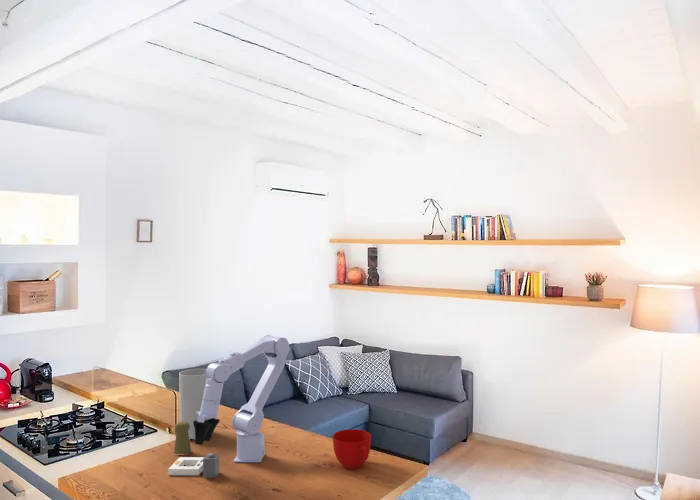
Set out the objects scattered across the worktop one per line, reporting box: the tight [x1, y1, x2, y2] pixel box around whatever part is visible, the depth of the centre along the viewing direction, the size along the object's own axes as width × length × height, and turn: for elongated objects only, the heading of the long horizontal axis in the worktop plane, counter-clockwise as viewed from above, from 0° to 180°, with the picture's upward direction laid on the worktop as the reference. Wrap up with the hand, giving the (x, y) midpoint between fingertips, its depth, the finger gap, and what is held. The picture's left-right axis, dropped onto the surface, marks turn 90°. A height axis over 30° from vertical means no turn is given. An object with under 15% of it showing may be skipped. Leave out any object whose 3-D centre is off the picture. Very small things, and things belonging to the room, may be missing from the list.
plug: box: [202, 452, 220, 479], centre depth 175 cm, size 4×4×7 cm
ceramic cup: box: [332, 428, 372, 470], centre depth 180 cm, size 13×17×10 cm
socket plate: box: [167, 456, 205, 476], centre depth 180 cm, size 10×10×2 cm
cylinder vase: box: [178, 368, 207, 439], centre depth 213 cm, size 12×12×25 cm
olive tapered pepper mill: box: [173, 421, 192, 455], centre depth 195 cm, size 6×6×11 cm
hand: (202, 442), depth 176 cm, fingers open, 7 cm apart
